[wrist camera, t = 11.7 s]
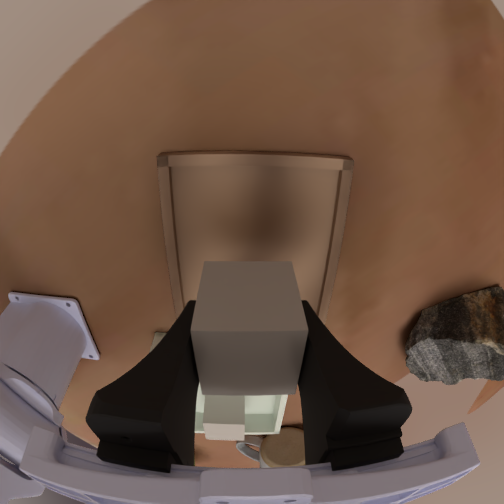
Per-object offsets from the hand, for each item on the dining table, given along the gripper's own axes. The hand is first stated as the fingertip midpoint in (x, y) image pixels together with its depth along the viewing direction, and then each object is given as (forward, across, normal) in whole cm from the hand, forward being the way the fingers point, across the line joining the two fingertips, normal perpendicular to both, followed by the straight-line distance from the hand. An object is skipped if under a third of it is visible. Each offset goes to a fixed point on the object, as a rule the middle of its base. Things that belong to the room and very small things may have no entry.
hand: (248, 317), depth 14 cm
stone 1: (+8, +2, +19) cm, 21 cm away
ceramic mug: (+9, -4, +31) cm, 33 cm away
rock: (+9, -22, +11) cm, 26 cm away
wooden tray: (+8, 0, +1) cm, 8 cm away
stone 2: (+1, 0, 0) cm, 1 cm away
